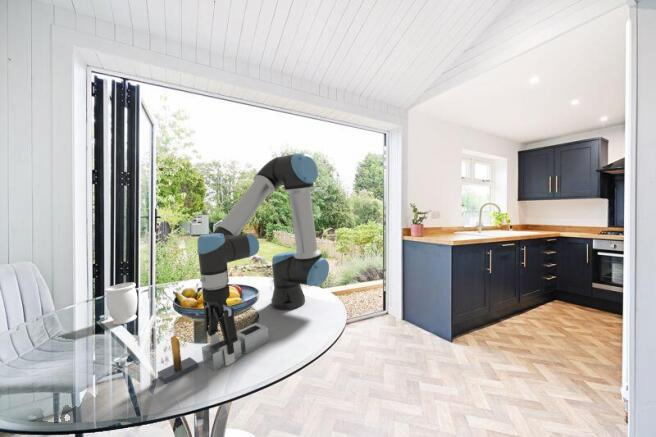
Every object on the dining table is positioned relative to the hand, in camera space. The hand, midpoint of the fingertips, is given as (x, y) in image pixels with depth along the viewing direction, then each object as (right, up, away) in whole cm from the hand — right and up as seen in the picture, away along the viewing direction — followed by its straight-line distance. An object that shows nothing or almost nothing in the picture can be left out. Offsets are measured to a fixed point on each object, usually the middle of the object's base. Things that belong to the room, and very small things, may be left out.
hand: (223, 358), depth 88 cm
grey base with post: (-11, -1, -5) cm, 12 cm away
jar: (-54, -1, +34) cm, 64 cm away
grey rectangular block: (0, 0, 0) cm, 0 cm away
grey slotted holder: (+7, +1, +8) cm, 10 cm away
